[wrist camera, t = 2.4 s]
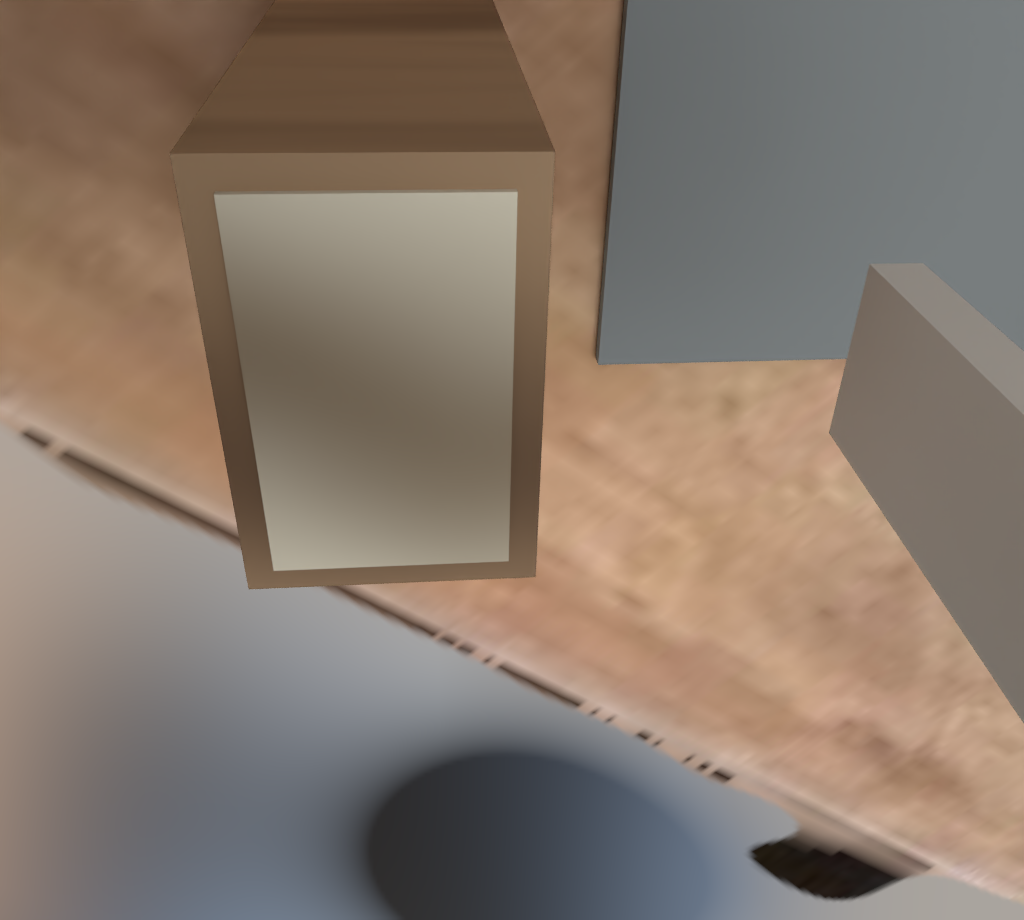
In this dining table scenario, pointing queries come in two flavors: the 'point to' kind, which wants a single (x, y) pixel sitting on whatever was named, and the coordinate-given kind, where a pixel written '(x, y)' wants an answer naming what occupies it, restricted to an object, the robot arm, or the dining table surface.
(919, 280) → the robot arm
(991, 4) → the mat
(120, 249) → the dining table surface
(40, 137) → the dining table surface
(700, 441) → the dining table surface
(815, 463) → the dining table surface
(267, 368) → the walnut block
